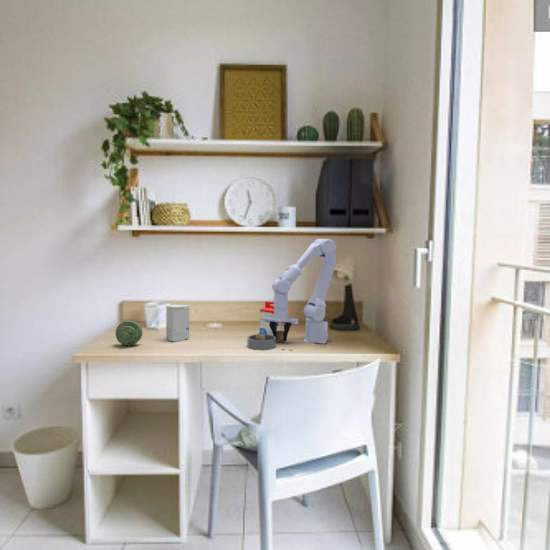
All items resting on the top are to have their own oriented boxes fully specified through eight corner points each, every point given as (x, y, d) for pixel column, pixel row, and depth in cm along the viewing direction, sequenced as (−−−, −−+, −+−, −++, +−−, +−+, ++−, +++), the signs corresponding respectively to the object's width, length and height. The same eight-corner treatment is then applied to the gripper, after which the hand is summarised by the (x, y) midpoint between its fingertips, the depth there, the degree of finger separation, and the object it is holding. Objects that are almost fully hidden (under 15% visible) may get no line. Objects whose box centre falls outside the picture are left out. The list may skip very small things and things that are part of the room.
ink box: (259, 334, 189) (259, 302, 188) (264, 332, 194) (264, 301, 192) (275, 336, 185) (276, 304, 184) (280, 334, 190) (281, 302, 188)
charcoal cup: (278, 344, 171) (278, 335, 171) (272, 351, 160) (272, 341, 160) (252, 342, 173) (252, 333, 173) (244, 349, 162) (244, 339, 162)
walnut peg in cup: (265, 346, 166) (265, 334, 165) (263, 348, 162) (263, 336, 162) (257, 345, 167) (257, 333, 166) (254, 348, 163) (254, 335, 163)
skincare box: (172, 342, 173) (172, 307, 172) (165, 339, 177) (165, 305, 176) (190, 339, 179) (189, 305, 177) (182, 336, 183) (182, 303, 182)
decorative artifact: (142, 344, 169) (142, 320, 168) (137, 348, 162) (137, 323, 161) (117, 344, 169) (117, 320, 168) (111, 348, 162) (111, 323, 161)
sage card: (296, 350, 163) (296, 348, 163) (294, 353, 158) (294, 352, 158) (279, 348, 165) (279, 347, 165) (276, 352, 160) (276, 350, 160)
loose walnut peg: (285, 342, 174) (285, 331, 174) (283, 344, 171) (283, 332, 171) (277, 342, 175) (277, 330, 175) (275, 344, 172) (275, 332, 171)
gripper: (261, 308, 170) (261, 341, 171) (296, 310, 166) (295, 343, 168) (265, 306, 176) (265, 337, 178) (299, 307, 173) (298, 339, 174)
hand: (280, 340), depth 173 cm, fingers closed on loose walnut peg, 4 cm apart
